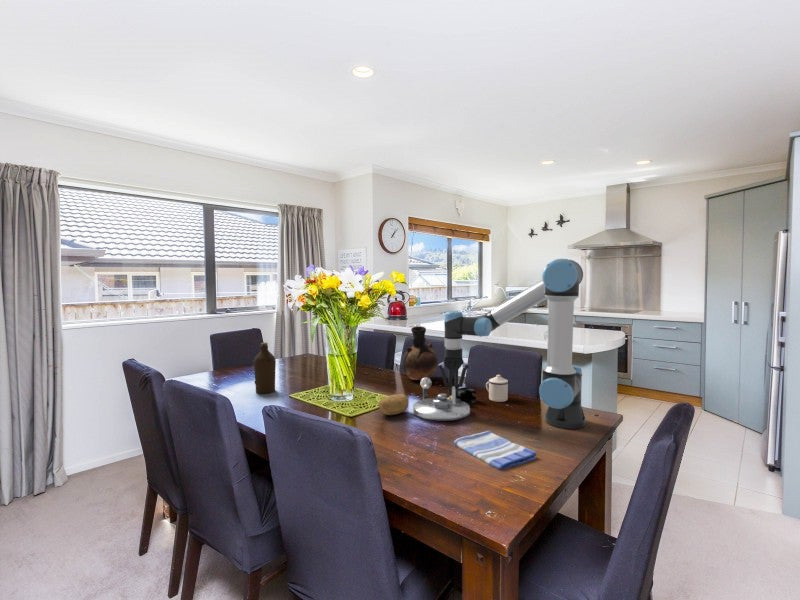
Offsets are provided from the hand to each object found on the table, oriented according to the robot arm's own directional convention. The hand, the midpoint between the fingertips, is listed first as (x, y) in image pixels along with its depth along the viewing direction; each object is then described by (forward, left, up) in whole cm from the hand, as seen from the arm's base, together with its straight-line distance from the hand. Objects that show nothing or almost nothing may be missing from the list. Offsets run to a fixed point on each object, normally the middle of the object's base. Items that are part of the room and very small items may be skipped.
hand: (453, 402), depth 179 cm
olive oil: (+54, +82, -5) cm, 98 cm away
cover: (+1, +5, -1) cm, 5 cm away
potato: (+5, +25, -5) cm, 26 cm away
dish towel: (-39, -1, -6) cm, 39 cm away
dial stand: (+16, +8, -5) cm, 19 cm away
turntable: (+1, +5, -3) cm, 6 cm away
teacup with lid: (+16, -27, -5) cm, 32 cm away
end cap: (+14, -10, -5) cm, 18 cm away
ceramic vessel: (+59, -1, -5) cm, 59 cm away
